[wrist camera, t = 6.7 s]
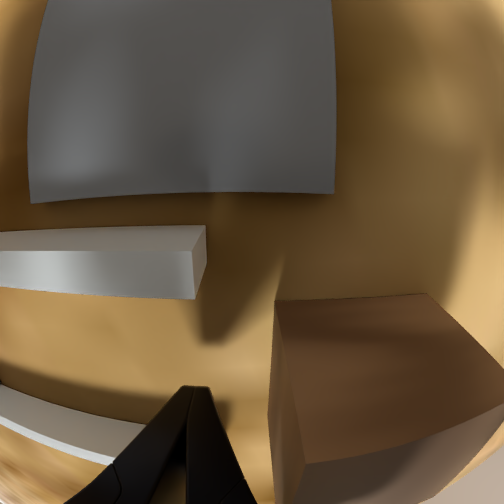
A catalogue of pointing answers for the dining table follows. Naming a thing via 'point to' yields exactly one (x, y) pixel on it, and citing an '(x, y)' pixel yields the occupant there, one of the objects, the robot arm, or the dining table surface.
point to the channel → (94, 283)
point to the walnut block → (376, 400)
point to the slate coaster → (182, 98)
